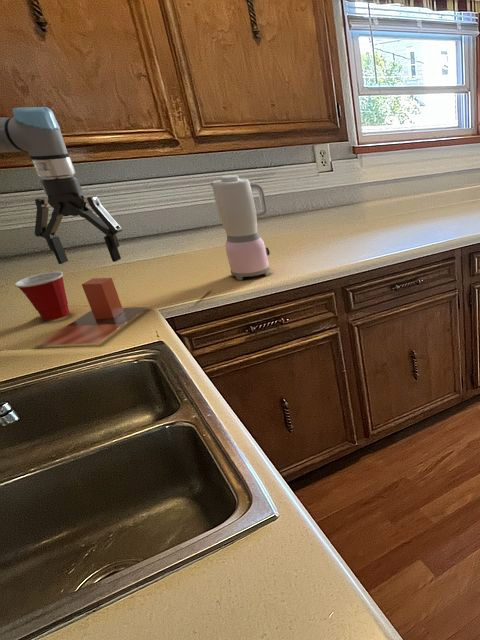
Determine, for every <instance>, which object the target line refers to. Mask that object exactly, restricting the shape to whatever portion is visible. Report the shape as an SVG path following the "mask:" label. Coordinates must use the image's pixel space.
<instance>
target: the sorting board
mask: <svg viewBox="0 0 480 640" xmlns="http://www.w3.org/2000/svg"><path fill="white" fill-rule="evenodd" d="M122 308H123V311H124V312H123V313H121V314H120V315H118V316H117V317H115V318H114V319H95V318H94V315H93V312H92V310H91V309H90V310H89V311H88V312H87V313H85V314H84V315H81V316H80V317H79V318H77V319H75V320H74V321H73V322H71V323H69V324H68V325H66V326H64V327H62V328H61V329H60V330H57V332H54V333H53V334H52V335H50V336H48V337H47V338H45V339H43V340H42V341H40V342H39V343H37V344H36V345H35V346H36V347H37V346H40V347H41V346H54V347H52V349H53V348H54V349H55V348H59V346H61V345H62V346H65V345H78V346H77V348H79V347H81V348H82V347H83V346H82V345H87V344H88V345H89V344H100V343H101V342H102V341H104V340H105V339H107V338H108V337H109V336H110V335H112V334H113V333H115V332H116V331H117V330H119V329H120V328H122V327H123V326H124V325H126V324H127V323H128V322H130V321H131V320H132V319H134V318H135V317H136V316H138V315H140V313H142V312H143V311H145V310H146V309H148V306H147V307H146V306H143V307H142V306H141V307H122ZM79 345H80V346H79ZM57 346H58V347H57Z"/></svg>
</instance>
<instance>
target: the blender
mask: <svg viewBox="0 0 480 640" xmlns="http://www.w3.org/2000/svg"><path fill="white" fill-rule="evenodd" d="M208 185H209V186H210V187H212V191H213V198H214V201H215V205H216V209H217V213H218V216H219V220H220V221H221V224H222V227H223V229H224V231H225V234H226V241H225V252H226V256H227V257H226V258H227V261H228V264H229V267H230V274H231V275H232V277H235V279H236V281H243V280H244V278H246V277H255V276H259V275H264V277H265V276H266V277H267V276H268V275H270V264H269V259H268V256H270V254H271V253H270V249H269V247H267V246H266V245H265V242H264V240H263V239H262V238H261V236H260V234H259V231H258V217H261V216H265V215H266V214H267V212H268V208H267V201H266V197H265V191H264V189H263V186H261V185H260V184H258V183H251V182H250V180H249V179H247V178H240V177H239V175H235V174H232V175H222V176H220V179H217V180H213V181H212V182H211V183H209V184H208ZM252 190H256V191H257V194H258V197H259V198H258V199H259V203H260V209H259V210H257V209H256V208H257V207H256V203H255V199H254V194H253V191H252Z"/></svg>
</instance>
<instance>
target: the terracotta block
mask: <svg viewBox="0 0 480 640" xmlns="http://www.w3.org/2000/svg"><path fill="white" fill-rule="evenodd" d="M81 287H82V289H83V291H84V294H85V297H86V299H87V302H88V305H89V307H90V311H91V310H92V312H93V315H94V318H95V319H114V318H115V317H117V316H118V315H120V314H121V313H123V312H124V311H123V308H124V307H123V306H122V303H121V300H120V297H119V295H118V294H119V293H118V292H117V289H116V286H115V284H114V281H113V277H96V278H91V279H88V280H87V281H85V282H84V283H81Z"/></svg>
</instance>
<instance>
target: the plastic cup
mask: <svg viewBox="0 0 480 640" xmlns="http://www.w3.org/2000/svg"><path fill="white" fill-rule="evenodd" d="M63 277H64V272H63V271H49V272H42V273H38V274H35V275H30V276H28V277H25V278H21V279H20V280H18V281H16V282H15V283H14V286H15V287H17V288H18V289H19V290H20V291H21V292H22V293H23V294H24V295H25V296H26V298H27V299H28V300H29V302H30V304H31V305H32V306H33V308H34V309H35V310H36V311H37V313H38V314H39V316H40V317H41V318H42V319H43V320H44V321H52V320H58V319H62V318H65V317H66V316H68V315H70V309H69V305H68V304H69V303H68V298H67V294H66V293H67V292H66V289H65V282H64V278H63Z"/></svg>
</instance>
